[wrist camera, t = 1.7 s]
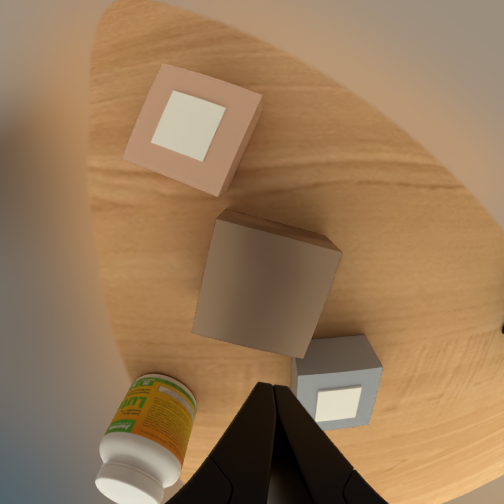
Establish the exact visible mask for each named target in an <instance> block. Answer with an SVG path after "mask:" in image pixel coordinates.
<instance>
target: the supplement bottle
mask: <svg viewBox="0 0 504 504" xmlns="http://www.w3.org/2000/svg"><path fill="white" fill-rule="evenodd" d="M196 409H197V406H196V400H195V398H194V396H193V394H192V393H191V392H190V390H189V389H188V388H187V387H186V386H184V385H183V384H182V383H180V382H179V381H177V380H175V379H173V378H171V377H168V376H164V375H160V374H147V375H144V376H141V377H139V378H138V379H136V380H135V381H134V383H133V384H132V386H131V387H130V389H129V391H128V393H127V394H126V396H125V398H124V400H123V402H122V403H121V405H120V407H119V409H118V411H117V413H116V414H115V416H114V418H113V420H112V422H111V424H110V426H109V427H108V429H107V431H106V433H105V435H104V437H103V439H102V441H101V443H100V448H99V450H100V456H101V458H102V460H103V462H104V464H103V465H102V467H101V469H100V471H99V473H98V475H97V478H96V482H95V484H96V486H97V488H98V489H99V490H100V491H101V492H102V493H103V494H104V495H105V496H107V497H108V498H109V499H111V500H113V501H114V502H116V503H118V504H161V501H162V498H163V496H164V488H166V487H169V486H171V485H173V484H174V483H175V482H176V481H177V480H178V478H179V476H180V473H181V470H182V466H183V462H184V457H185V454H186V450H187V445H188V442H189V438H190V434H191V430H192V426H193V422H194V418H195V414H196Z"/></svg>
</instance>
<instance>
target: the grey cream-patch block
mask: <svg viewBox="0 0 504 504" xmlns="http://www.w3.org/2000/svg"><path fill="white" fill-rule="evenodd" d="M382 370H383V366H382V364H381V362H380V360H379V359H378V357H377V355H376V353H375V352H374V350H373V348H372V347H371V345H370V343H369V341H368V340H367V338H366V336H365V335H357V336H346V337H334V338H320V339H311V341H310V343H309V346H308V348H307V351H306V353H305V355H304V358H303V359H302V358H296V357H292V359H291V389H290V390H291V391H292V392H293V394H294V395H295V396H296V397H297V399H298V400H299V401H300V403H301V404H302V405H303V406H304V408H305V409H306V410H307V411H308V413H309V414H310V415H311V416H312V418H313V419H314V420H315V421H316V423H317V424H318V425H319V426H320V428H321V429H322V430H323V431H326V430H334V429H342V428H350V427H356V426H363V425H369V421H370V418H371V414H372V411H373V407H374V403H375V399H376V395H377V391H378V387H379V383H380V379H381V374H382Z"/></svg>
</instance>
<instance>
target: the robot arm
mask: <svg viewBox="0 0 504 504" xmlns="http://www.w3.org/2000/svg"><path fill="white" fill-rule="evenodd" d="M502 334H504V327H503V329H502ZM353 469H354V467H353V466H352V465H351V464H350V463H349V461H348V460H347V459H346V458H345V457H344V455H343V454H342V453H341V452H340V451H339V450H338V448H337V447H336V446H335V445H334V443H333V442H332V441H331V440H330V439H329V437H328V436H327V435H326V434H325V433H324V431H323V430H322V429H321V428H320V426H319V425H318V424H317V423H316V421H315V420H314V419H313V418H312V416H311V415H310V414H309V413H308V411H307V410H306V409H305V408H304V406H303V405H302V404H301V403H300V401H299V400H298V399H297V397H296V396H295V395H294V394H293V392H292V391H291V390H290V388H289V387H287V386H282V385H273V386H272V384H270V383H264V382H258V383H257V384H256V385H255V387H254V388H253V390H252V391H251V393H250V395H249V396H248V398H247V399H246V401H245V402H244V404H243V405H242V407H241V408H240V410H239V412H238V413H237V415H236V416H235V418H234V419H233V421H232V422H231V424H230V425H229V427H228V428H227V429H226V431H225V432H224V434H223V435H222V437H221V438H220V440H219V441H218V443H217V444H216V445H215V447H214V448H213V450H212V451H211V453H210V454H209V455H208V457H207V458H206V459H205V461H204V462H203V463H202V465H201V466H200V467H199V469H198V470H197V471H196V472H195V474H194V475H193V476H192V477H191V479H190V480H189V481H188V482H187V483H186V484H185V485H184V486H183V487H182V488H181V489H180V490H179V491H178V492H177V493H176V494H175V495H174V496H173V497H172V498H171V499H170V500H168V501H167V502H166V503H165V504H389V503H387V502H386V501H385V500H384V499H383V498H382V497H381V496H380V495H379V494H378V493H377V492H376V491H375V490H374V489H373V488H372V487H371V486H370V485H369V484H368V483H367V482H366V481H365V480H364V479H363V478H362V476H361V475H360V474H359V473H358V472H357V471H356V470H353Z"/></svg>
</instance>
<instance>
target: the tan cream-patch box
mask: <svg viewBox="0 0 504 504" xmlns="http://www.w3.org/2000/svg"><path fill="white" fill-rule="evenodd" d="M262 103H263V95H261V94H259V93H256V92H253V91H251V90H248V89H245V88H243V87H240V86H237V85H234V84H231V83H228V82H225V81H222V80H219V79H216V78H213V77H210V76H207V75H204V74H201V73H197V72H194V71H191V70H187V69H184V68H180V67H176V66H173V65H169V64H165V63H163V64H162V66H161V68H160V70H159V72H158V74H157V76H156V78H155V81H154V83H153V85H152V87H151V89H150V91H149V93H148V96H147V98H146V100H145V102H144V104H143V107H142V109H141V111H140V114H139V116H138V119H137V121H136V123H135V126H134V128H133V131H132V133H131V136H130V138H129V141H128V144H127V146H126V149H125V152H124V154H123V157H122V159H123V160H125V161H128V162H131V163H133V164H136V165H138V166H141V167H144V168H146V169H149V170H151V171H154V172H156V173H159V174H162V175H164V176H167V177H169V178H172V179H174V180H177V181H179V182H182V183H184V184H187V185H189V186H192V187H194V188H197V189H199V190H202V191H204V192H206V193H209V194H211V195H214V196H216V197H219V196H221V195H223V194H224V193H226V192H227V191H228V189H229V187H230V184H231V182H232V180H233V177H234V175H235V173H236V170H237V168H238V166H239V163H240V161H241V159H242V156H243V154H244V152H245V150H246V147H247V145H248V143H249V141H250V138H251V136H252V134H253V132H254V129H255V127H256V125H257V123H258V121H259V118H260V116H261V114H262Z"/></svg>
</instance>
